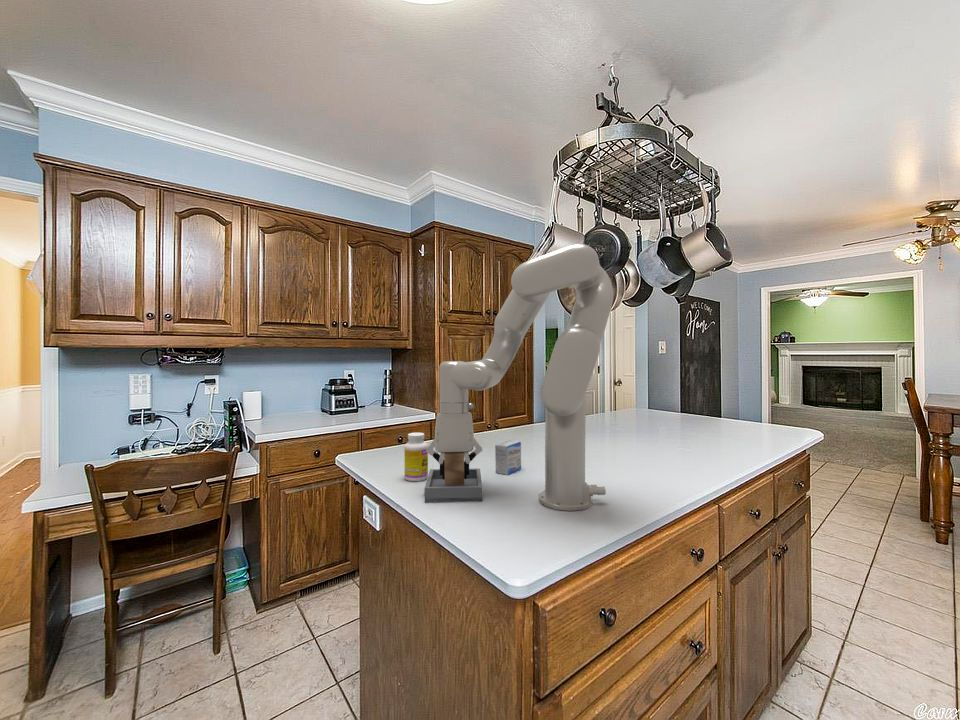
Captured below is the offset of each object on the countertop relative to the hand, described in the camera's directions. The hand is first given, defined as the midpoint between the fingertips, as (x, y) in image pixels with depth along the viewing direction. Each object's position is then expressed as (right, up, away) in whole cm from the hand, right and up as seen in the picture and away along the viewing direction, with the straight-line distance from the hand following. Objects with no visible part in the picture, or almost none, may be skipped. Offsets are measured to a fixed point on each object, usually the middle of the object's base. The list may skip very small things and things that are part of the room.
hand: (454, 476), depth 108 cm
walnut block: (0, -1, 0) cm, 1 cm away
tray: (0, -4, 0) cm, 4 cm away
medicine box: (+15, -3, +18) cm, 24 cm away
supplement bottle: (-12, -4, +11) cm, 16 cm away
